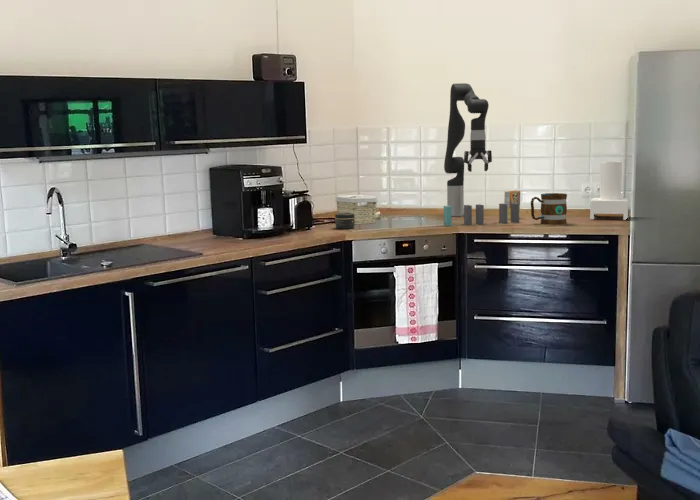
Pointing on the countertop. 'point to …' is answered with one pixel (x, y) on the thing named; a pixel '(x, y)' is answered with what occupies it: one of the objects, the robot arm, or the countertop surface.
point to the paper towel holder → (610, 191)
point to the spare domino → (447, 215)
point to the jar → (344, 221)
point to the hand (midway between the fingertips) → (477, 171)
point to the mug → (551, 208)
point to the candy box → (511, 201)
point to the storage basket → (358, 207)
